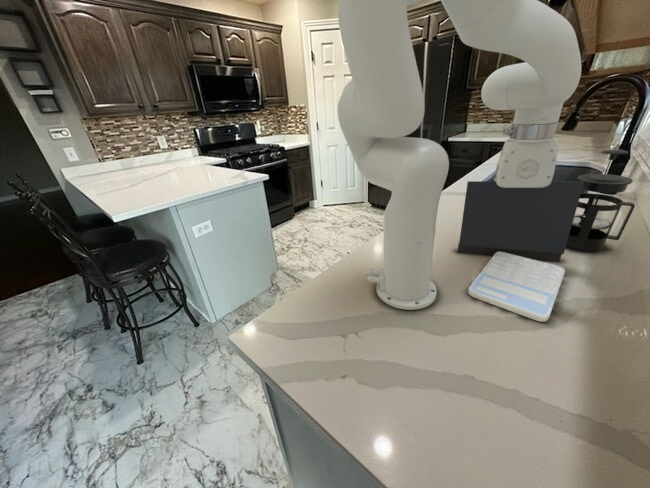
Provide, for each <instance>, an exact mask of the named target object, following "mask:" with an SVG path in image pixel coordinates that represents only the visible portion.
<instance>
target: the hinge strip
mask: <svg viewBox="0 0 650 488" xmlns="http://www.w3.org/2000/svg"><path fill="white" fill-rule="evenodd" d="M496 252H505V253H509V254H513V255H517V256H521V257H525V258H529V259H533V260H541V261H554V262H560V261H561V258H562V255H563V254H552V253H540V252H528V251H516V250H503V249H491V248H479V247H467V246H459V243H458V244H457V253H465V254H475V255H485V256H486V255H487V256H494V254H495V253H496Z"/></svg>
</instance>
